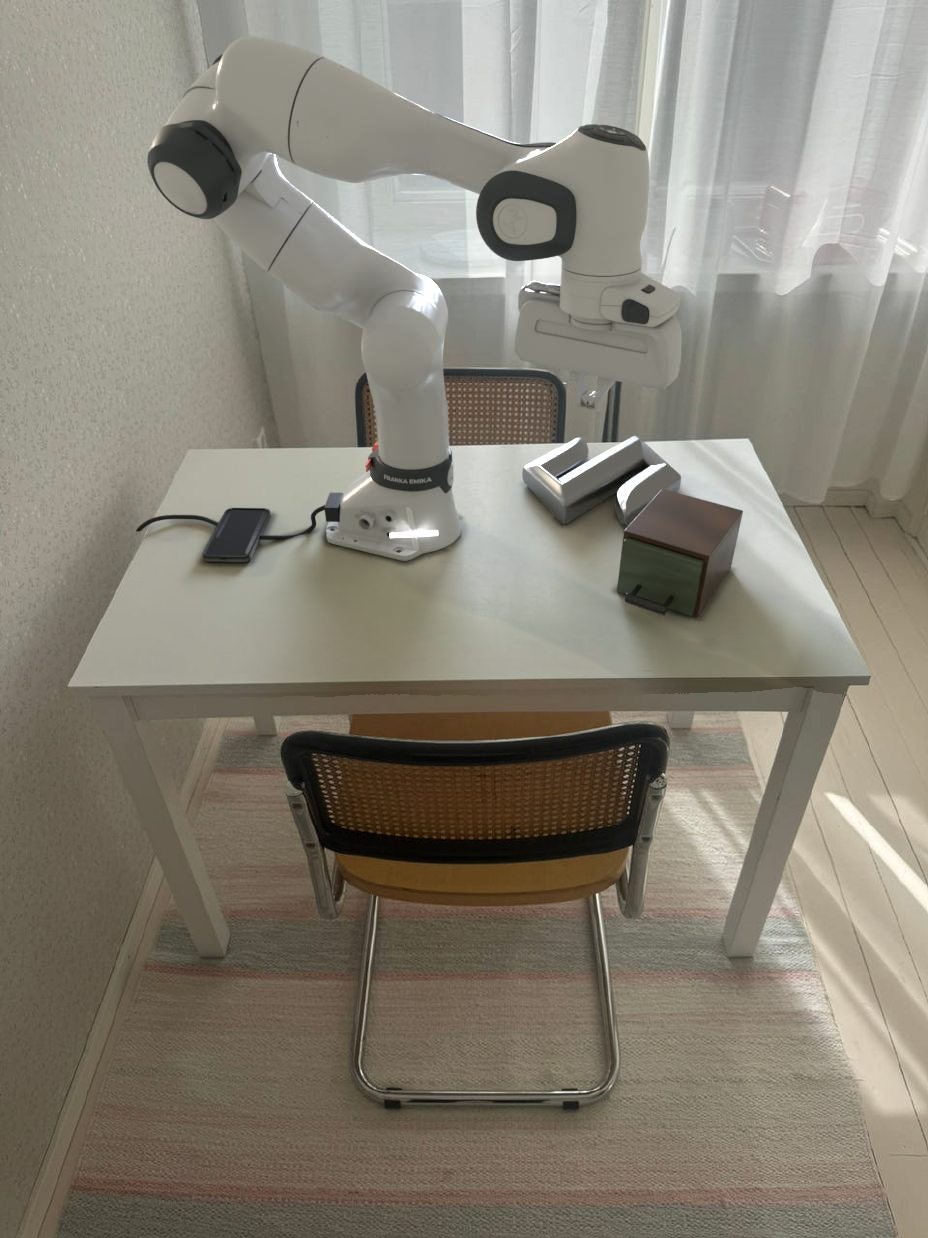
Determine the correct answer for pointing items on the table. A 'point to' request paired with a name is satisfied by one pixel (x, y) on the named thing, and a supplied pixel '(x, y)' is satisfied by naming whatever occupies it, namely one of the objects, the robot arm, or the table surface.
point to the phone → (237, 535)
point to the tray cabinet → (691, 535)
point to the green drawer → (659, 577)
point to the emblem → (599, 479)
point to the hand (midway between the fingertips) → (590, 407)
